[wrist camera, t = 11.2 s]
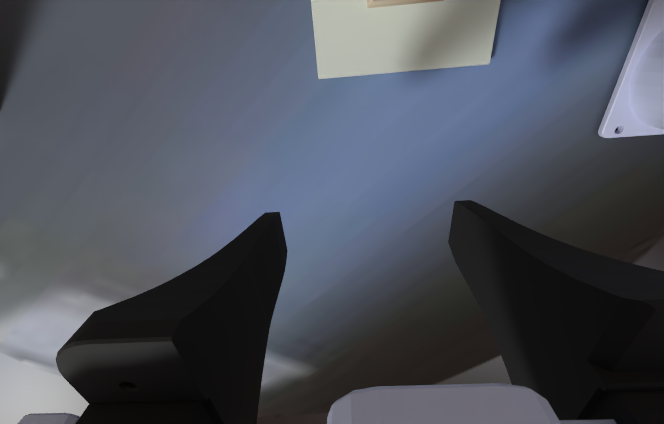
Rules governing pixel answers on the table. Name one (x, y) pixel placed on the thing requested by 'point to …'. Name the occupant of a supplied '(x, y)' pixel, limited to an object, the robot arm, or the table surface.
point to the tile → (401, 36)
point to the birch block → (394, 2)
